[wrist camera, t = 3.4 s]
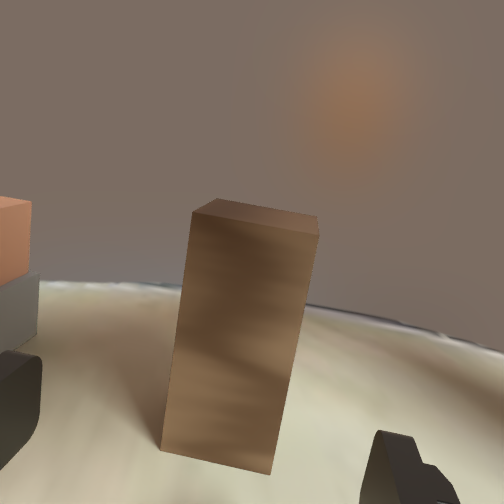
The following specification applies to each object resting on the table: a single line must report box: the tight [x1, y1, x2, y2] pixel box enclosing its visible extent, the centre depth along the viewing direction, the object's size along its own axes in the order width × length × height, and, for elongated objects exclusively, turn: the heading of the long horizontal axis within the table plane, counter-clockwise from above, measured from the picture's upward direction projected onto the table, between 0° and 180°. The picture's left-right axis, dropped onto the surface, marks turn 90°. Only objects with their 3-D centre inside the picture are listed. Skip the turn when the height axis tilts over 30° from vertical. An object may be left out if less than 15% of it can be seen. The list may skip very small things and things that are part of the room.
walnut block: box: [160, 199, 319, 475], centre depth 20 cm, size 5×5×10 cm
